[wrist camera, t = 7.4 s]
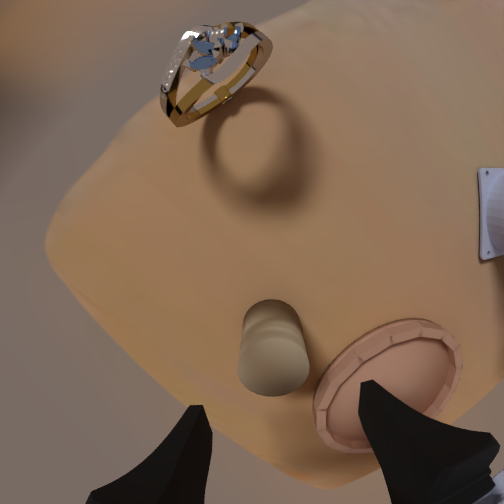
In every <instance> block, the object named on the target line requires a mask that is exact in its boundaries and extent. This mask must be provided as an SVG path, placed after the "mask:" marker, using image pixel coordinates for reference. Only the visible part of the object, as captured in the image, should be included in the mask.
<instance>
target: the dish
mask: <svg viewBox="0 0 504 504" xmlns="http://www.w3.org/2000/svg"><path fill="white" fill-rule="evenodd" d="M462 367H463V363H462V355H461V348H460V344H458V342H457V341H456V340H455V339H454V338H453V337H452V336H451V335H450V334H449V333H448V332H447V331H446V330H445V329H444V328H443V327H442V326H440V325H437V324H435V323H433V322H431V321H428V320H425V319H418V318H409V319H401V320H396V321H393V322H390V323H386V324H384V325H382V326H379V327H377V328H375V329H373V330H371V331H369V332H367V333H366V334H364V335H363V336H361V337H360V338H358V339H357V340H355V341H354V342H353V343H351V344H350V345H349V346H348V347H346V348H345V349H344V350H343V351H342V352H341V353H340V354H339V355H338V356H337V357H336V358H335V359H334V360H333V361H332V363H331V364H330V365H329V366H328V368H327V369H326V370H325V372H324V373H323V375H322V377H321V379H320V380H319V382H318V385H317V387H316V390H315V393H314V397H313V414H314V424H315V428H316V432H317V433H318V435H319V436H320V437H321V438H322V440H323V441H324V442H325V443H326V445H327V446H328V447H330V448H333V449H336V450H338V451H341V452H344V453H347V454H358V453H373V452H374V451H373V449H372V447H371V445H370V443H369V441H368V439H367V437H366V435H365V433H364V430H363V428H362V425H361V422H360V418H359V415H358V405H359V395H360V384H361V382H365V381H368V380H372V379H373V380H374V381H376V382H377V383H378V384H379V385H381V386H382V387H383V388H385V389H386V390H387V391H388V392H390V393H391V394H392V395H394V396H395V397H396V398H398V399H399V400H401V401H402V402H404V403H405V404H407V405H408V406H410V407H411V408H413V409H415V410H416V411H418V412H420V413H422V414H424V415H426V416H428V417H430V418H432V419H434V418H435V417H436V416H437V415H438V414H439V413H440V412H441V411H442V410H443V408H444V407H445V405H446V404H447V402H448V401H449V399H450V398H451V396H452V395H453V393H454V391H455V390H456V387H457V384H458V381H459V377H460V374H461V370H462Z"/></svg>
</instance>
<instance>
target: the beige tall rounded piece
mask: <svg viewBox="0 0 504 504" xmlns="http://www.w3.org/2000/svg"><path fill="white" fill-rule="evenodd" d="M309 369H310V367H309V361H308V356H307V352H306V348H305V344H304V340H303V335H302V331H301V327H300V323H299V319H298V315H297V313H296V312H295V310H294V309H293V308H292V307H291V306H290V305H289V304H287V303H285V302H283V301H280V300H273V299H272V300H264V301H261V302H258V303H256V304H255V305H253V306H252V307H251V308H250V309H249V310H248V311H247V313H246V315H245V317H244V321H243V329H242V338H241V346H240V354H239V362H238V376H239V379H240V381H241V382H242V384H243V385H244V386H245V387H246V388H247V389H249V390H250V391H252V392H254V393H256V394H259V395H263V396H282V395H286V394H289V393H291V392H293V391H295V390H296V389H298V388H299V387H300V386H301V385H302V384H303V383H304V382H305V381H306V379H307V377H308V374H309Z"/></svg>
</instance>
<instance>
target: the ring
mask: <svg viewBox="0 0 504 504" xmlns="http://www.w3.org/2000/svg"><path fill="white" fill-rule="evenodd" d="M205 37H206V41H201V40H202V39H204V38H205ZM241 38H244V40H243V42H242V43H241V44H240V40H241ZM239 44H240V45H239ZM272 50H273V44H272V41H271V40H270V39H269V38H268V37H267V36H266V35H265V34H263V33H262V32H260V31H259V30H258V29H257V28H255V27H254V26H253V25H251V24H248V23H245V22H229V23H224V24H220V25H217V26H210V25H200V26H197V27H195V28H193V29H191V30H190V31H189V32H187V33H186V34H185V35H184V37H183V38H182V39H181V41H180V42H179V44H178V46H177V48H176V49H175V51H174V53H173V55H172V58H171V60H170V62H169V64H168V67H167V69H166V71H165V74H164V77H163V80H162V84H161V89H160V105H161V109H162V111H163V112H164V113H165V115H166V116H167V117H168V118H169V119H170V120H171V122H172V123H173V124H174V125H175V126H176V127H183V126H186V125H188V124H191V123H193V122H195V121H197V120H199V119H200V118H202V117H204V116H205V115H207V114H209V113H210V112H212V111H213V110H215V109H216V108H218V107H219V106H221V105H222V104H223V105H224V104H226V103H228V102H229V101H230V100H231V99H232V98H233V96H234V95H236V94H237V93H238V92H239V91H240V90H242V89H243V88H244V87H245V86H246V85H247V84H248V83H249V82H250V81H251V80H252V79H253V78H254V77H255V76H256V75H257V74H258V73H259V71H260V70H261V69H262V68H263V66H264V65H265V64H266V62H267V61H268V59H269V57H270V55H271V53H272ZM193 51H197V53H198V54H200V55H201V56H202V57H199V58H197V59H196V60H194V61H193V62H191V61H189V59H190V57H191V55H192V53H193ZM250 52H251V53H250ZM232 53H233V54H232ZM249 53H250V56H249V58H248V61H247V62H246V64H245V66H244V67H243V68H242V70H241V71H240V72H239V73H238V74H237V76H236V77H235V78H234V79H233V80H231V81H230V82H229V83H228V84H227V85H226V86H222V87H220V88H219V89H217V90H216V91H215V92H214V94H213V95H212V96H211V97H209V98H207V99H206V100H204V101H202V102H201V103H199V104H197V105H195V106H194V104H195V103H196V102H197V100H198V99H199V98H200V97H201V95H202V94H203V93H204V92H205V91H207V90H208V89H209V88H210V87H211V86H213V85H214V84H217V83H220V82H222V81H223V80H225V79H226V78H228V77H229V76H230V75H231V74H232V73H233V72H234V71H235V70H236V69H237V68H238V67H239V66H240V65H241V63H242V62H243V61H244V59H245V58H246V57H247V55H248V54H249ZM230 54H232V55H231V57H230V58H229V59H228V60H227V61H226V62H225V64H224V65H223V66H221V67H220V68H219V69H218V70H217V71H215V72H214V73H212V72H213V68H214V67H216V66H217V65H218V64H221V63H222V61H223V60H224V58H225V57H228V56H230ZM185 68H187V69H189V70H190V71H193V72H196V71H201V72H200V76H201V77H202V78H203V79H202V80H201V81H200V82H198V83H197V84H196V85H195V86H194V87H193V88H192V89H191V90H190V91H189V92H188V93H187V94H186V95H185V96H184V97H183V98H182V99H181V100H180V101H179V103H178V104H177V105H176V96H177V90H178V86H179V83H180V80H181V77H182V75H183V72H184V70H185Z"/></svg>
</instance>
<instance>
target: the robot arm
mask: <svg viewBox="0 0 504 504" xmlns="http://www.w3.org/2000/svg"><path fill="white" fill-rule="evenodd" d="M478 179H479V194H480V258H481V259H482V260H487V259H490V258H494V257H498V256H502V255H504V169H503V168H479V170H478ZM487 252H488V253H487ZM358 415H359V418H360V422H361V425H362V428H363V430H364V433H365V435H366V437H367V439H368V441H369V443H370V445H371V447H372V449H373V451H374V453H375V455H376V457H377V460H378V462H379V464H380V466H381V469H382V471H383V475H384V478H385V481H386V484H387V488H388V491H389V495H390V498H391V503H392V504H504V469H503V470H502V471H500V472H499V473H498V474H496V475H495V476H494V477H493V478H491V477H490V474H491V470H490V468H489V465H490V464H491V463H492V461H493V460H494V458H495V457H496V455H497V453H498V452H499V449H500V445H499V443H498V442H497V441H496V439H495V438H494V437H493V436H492V435H491V434H490V433H487V432H478V431H471V430H466V429H461V428H457V427H453V426H451V425H448V424H445V423H442V422H439V421H437V420H434V419H432V418H430V417H428V416H426V415H424V414H422V413H420V412H418V411H416V410H415V409H413V408H411V407H410V406H408V405H407V404H405V403H404V402H402V401H401V400H399V399H398V398H396V397H395V396H394V395H392V394H391V393H390V392H388V391H387V390H386V389H385V388H383V387H382V386H381V385H379V384H378V383H377V382H376V381H374V380H373V379H372V380H368V381H365V382H361V384H360V395H359V405H358ZM211 454H212V430H211V427H210V425H209V422H208V419H207V416H206V413H205V410H204V407H203V405H190V406H189V407H188V408H187V410H186V411H185V413H184V414H183V416H182V418H180V420H179V421H178V423H177V424H176V425H175V427H174V428H173V429H172V431H171V432H170V433H169V435H168V436H167V437H166V438H165V439H164V440H163V442H162V443H161V444H160V445H159V446H158V447H157V448H156V449H155V450H154V452H153V453H152V454H150V455H149V456H148V457H147V458H146V459H145V460H144V461H143V462H141V463H140V464H139V465H138V466H136V467H135V468H134V469H132V470H131V471H130V472H128V473H127V474H126V475H124V476H122V477H120V478H119V479H117V480H115V481H113V482H111V483H109V484H107V485H105V486H103V487H100V488H98V489H96V490H93V491H92V492H91V493H90V495H89V497H88V499H87V502H86V504H204V497H205V496H204V495H205V487H206V482H207V476H208V471H209V465H210V460H211Z"/></svg>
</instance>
